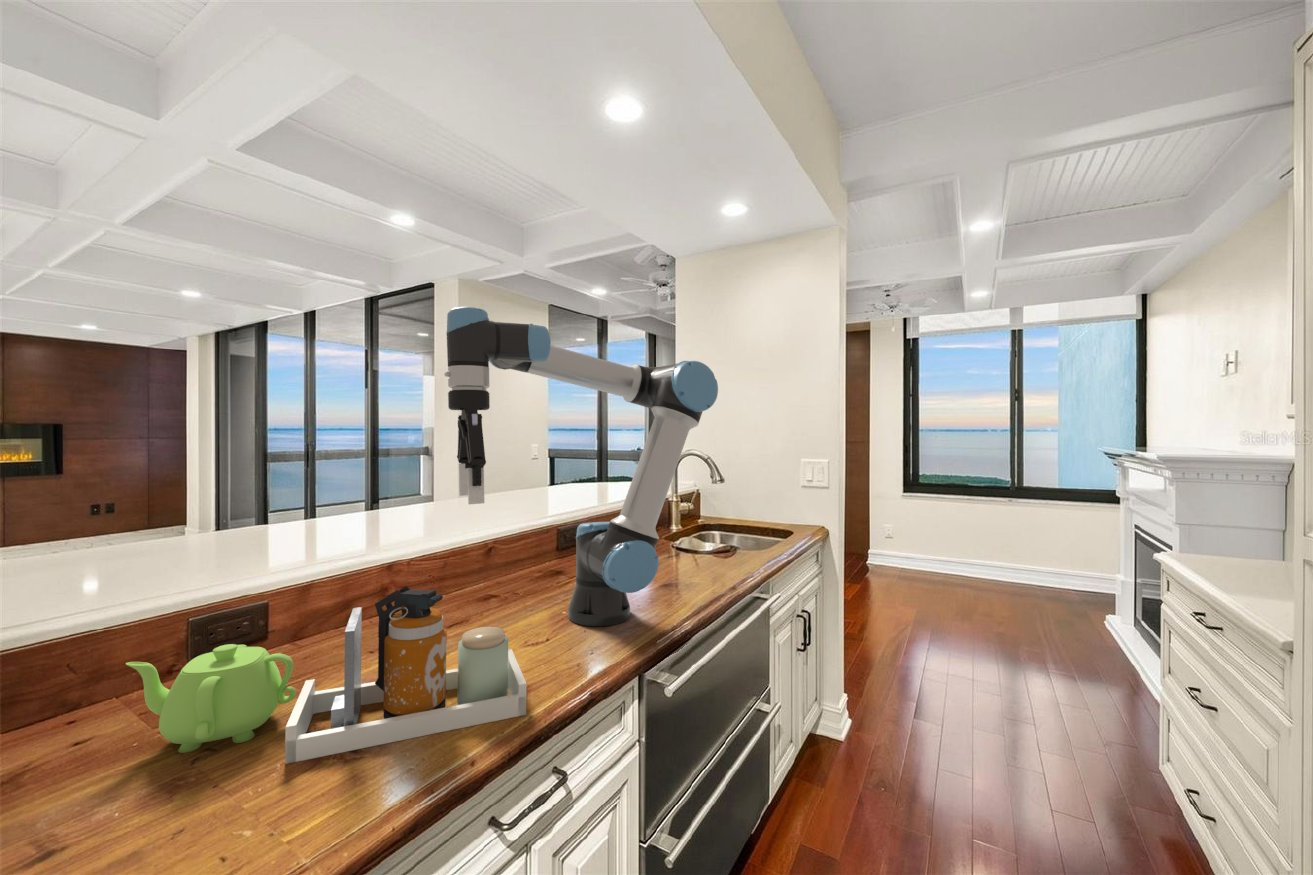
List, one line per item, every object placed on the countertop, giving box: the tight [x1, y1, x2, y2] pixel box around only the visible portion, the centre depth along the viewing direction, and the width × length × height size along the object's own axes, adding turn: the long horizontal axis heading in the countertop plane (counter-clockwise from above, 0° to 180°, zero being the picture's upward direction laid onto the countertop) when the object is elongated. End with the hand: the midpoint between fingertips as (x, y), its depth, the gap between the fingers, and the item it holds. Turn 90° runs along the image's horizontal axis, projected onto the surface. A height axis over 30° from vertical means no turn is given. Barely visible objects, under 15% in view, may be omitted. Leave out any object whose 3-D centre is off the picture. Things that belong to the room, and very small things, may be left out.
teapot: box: [125, 643, 297, 754], centre depth 78 cm, size 16×14×13 cm
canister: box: [374, 585, 448, 719], centre depth 84 cm, size 9×11×20 cm
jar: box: [456, 626, 509, 705], centre depth 88 cm, size 8×8×11 cm
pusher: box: [330, 606, 363, 729], centre depth 80 cm, size 3×11×16 cm, turn 25°
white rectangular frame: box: [284, 648, 527, 765], centre depth 84 cm, size 32×14×5 cm, turn 114°
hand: (471, 499), depth 103 cm, fingers open, 13 cm apart
